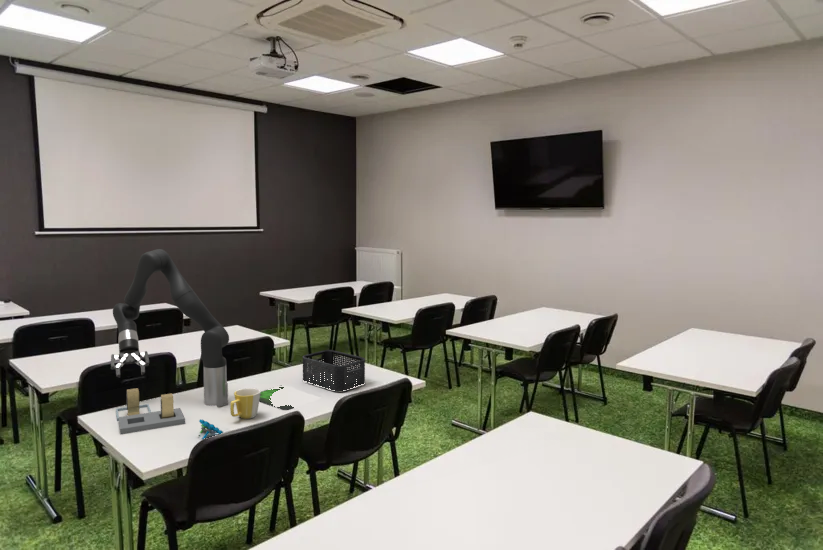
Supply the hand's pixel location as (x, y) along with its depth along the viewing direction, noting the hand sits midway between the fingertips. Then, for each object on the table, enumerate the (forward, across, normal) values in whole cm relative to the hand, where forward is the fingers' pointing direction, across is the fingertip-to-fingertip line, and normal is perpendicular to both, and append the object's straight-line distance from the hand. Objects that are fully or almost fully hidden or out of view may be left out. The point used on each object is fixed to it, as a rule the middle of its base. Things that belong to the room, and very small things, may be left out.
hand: (131, 375), depth 220 cm
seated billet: (+26, +11, -7) cm, 29 cm away
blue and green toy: (+42, +23, -21) cm, 52 cm away
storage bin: (+14, +88, +6) cm, 90 cm away
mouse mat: (+21, +60, -1) cm, 64 cm away
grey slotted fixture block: (+27, +6, -7) cm, 28 cm away
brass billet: (+16, 0, +3) cm, 17 cm away
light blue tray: (+17, 0, +3) cm, 17 cm away
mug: (+32, +38, -12) cm, 52 cm away
